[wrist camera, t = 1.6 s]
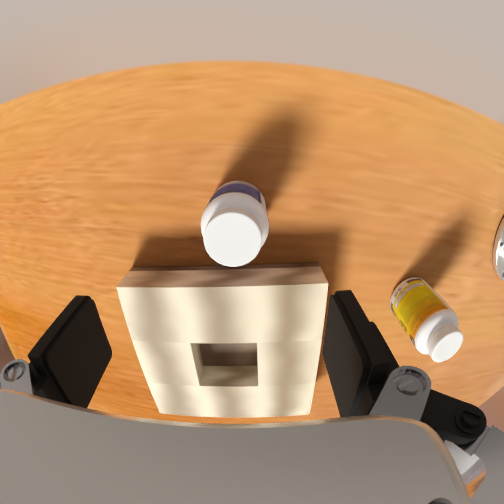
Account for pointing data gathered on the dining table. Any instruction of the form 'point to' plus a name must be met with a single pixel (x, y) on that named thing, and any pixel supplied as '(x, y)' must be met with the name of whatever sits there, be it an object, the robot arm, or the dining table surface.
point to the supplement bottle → (426, 319)
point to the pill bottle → (235, 224)
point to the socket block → (227, 336)
